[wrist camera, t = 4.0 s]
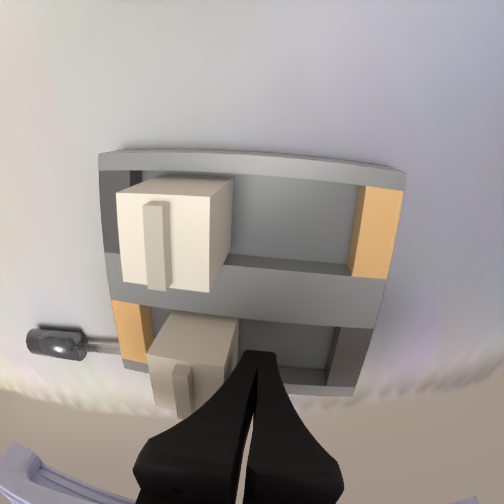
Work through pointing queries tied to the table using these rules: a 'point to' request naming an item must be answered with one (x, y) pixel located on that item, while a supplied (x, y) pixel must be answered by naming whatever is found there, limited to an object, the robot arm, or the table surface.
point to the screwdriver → (64, 344)
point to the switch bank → (272, 259)
